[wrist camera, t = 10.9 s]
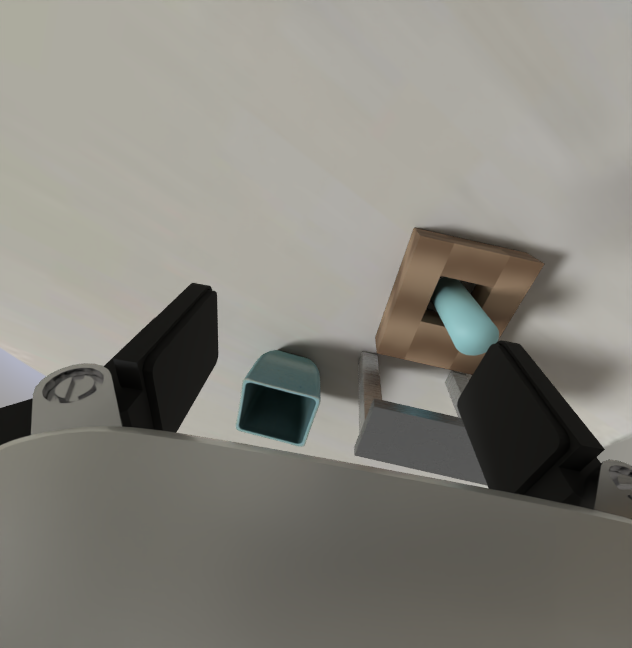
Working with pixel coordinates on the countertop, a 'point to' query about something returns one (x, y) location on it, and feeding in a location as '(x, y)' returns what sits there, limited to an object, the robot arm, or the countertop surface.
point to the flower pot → (280, 398)
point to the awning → (413, 430)
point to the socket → (418, 286)
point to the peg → (463, 317)
